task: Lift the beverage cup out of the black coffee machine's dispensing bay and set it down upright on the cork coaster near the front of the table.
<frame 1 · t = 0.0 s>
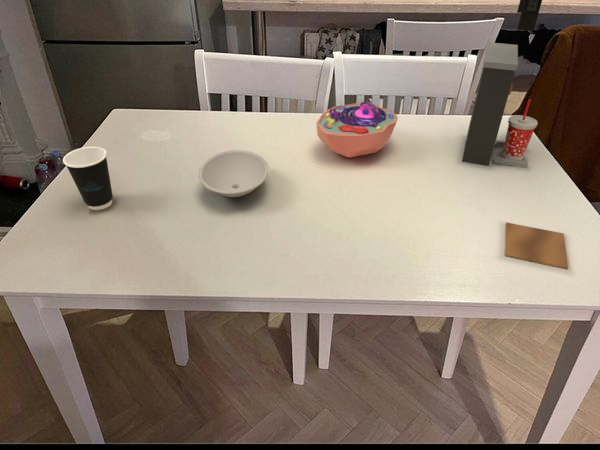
hand: (524, 21, 87), 31 cm above the table, tool pointing down, fingers open, 13 cm apart
dish: (236, 191, 99), on the table
cork coaster: (534, 245, 84), on the table
beverage cup: (512, 156, 110), on the table
cell model: (354, 151, 113), on the table
dixie cup: (100, 204, 95), on the table
coffee machine: (494, 153, 111), on the table
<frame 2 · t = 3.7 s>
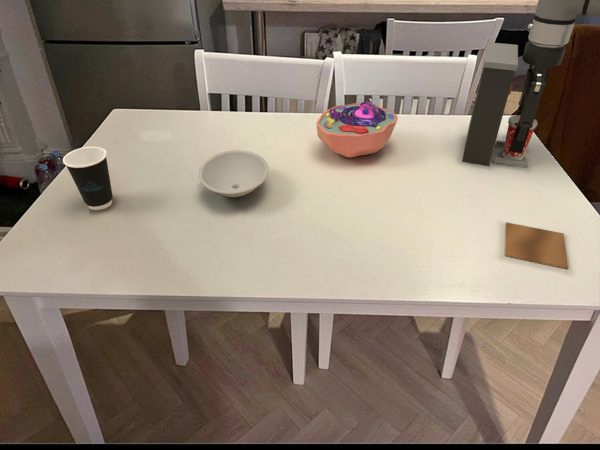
hand: (515, 144, 108), 3 cm above the table, tool pointing down, fingers closed on beverage cup, 6 cm apart
beverage cup: (512, 156, 110), on the table, touching gripper
everything else where it was.
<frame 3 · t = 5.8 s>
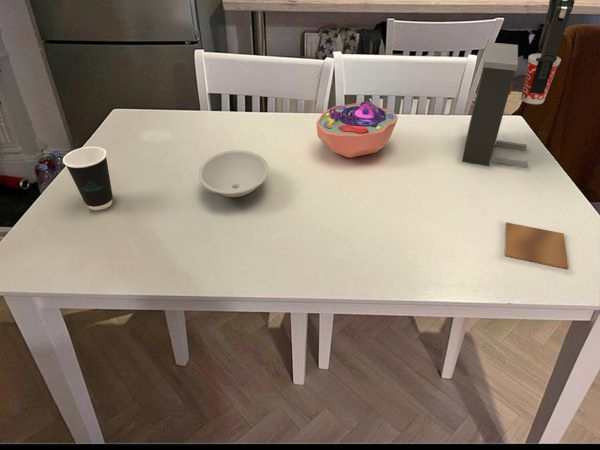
hand: (536, 86, 98), 17 cm above the table, tool pointing down, fingers closed on beverage cup, 6 cm apart
beverage cup: (531, 101, 100), point 14 cm above the table, touching gripper
everything else where it was.
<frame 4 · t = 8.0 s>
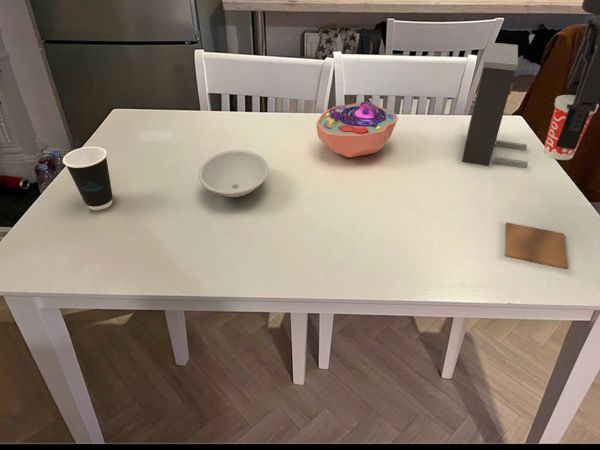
hand: (564, 137, 76), 19 cm above the table, tool pointing down, fingers closed on beverage cup, 6 cm apart
beverage cup: (557, 154, 78), point 16 cm above the table, touching gripper
everything else where it was.
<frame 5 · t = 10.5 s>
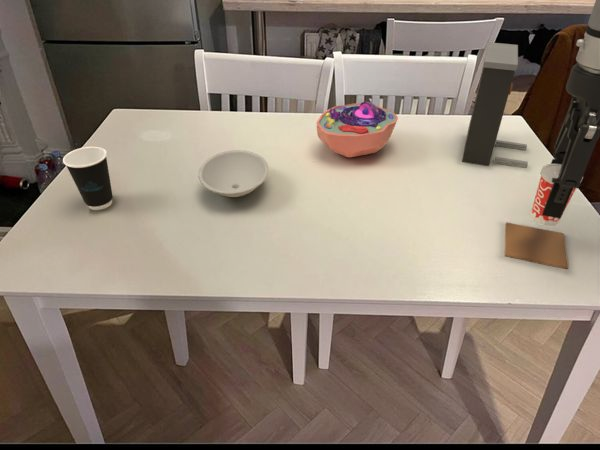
hand: (550, 204, 78), 9 cm above the table, tool pointing down, fingers closed on beverage cup, 6 cm apart
beverage cup: (544, 218, 80), point 6 cm above the table, touching gripper
everything else where it was.
when the fingers open (3 cm above the table, at t = 12.2 s): beverage cup stays where it is, resting on cork coaster.
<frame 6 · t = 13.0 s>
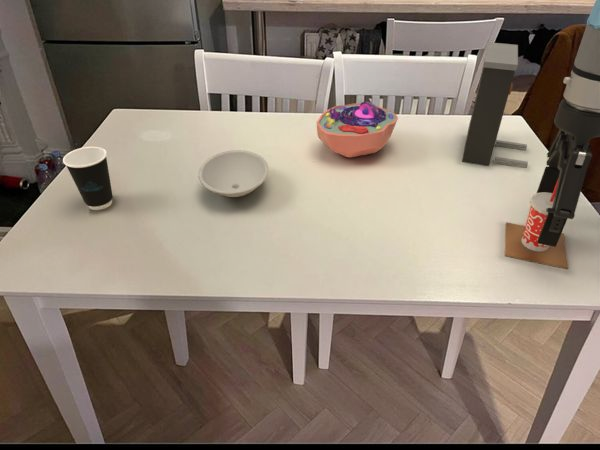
hand: (544, 220, 80), 6 cm above the table, tool pointing down, fingers open, 13 cm apart
beverage cup: (534, 244, 83), resting on cork coaster
everything else where it was.
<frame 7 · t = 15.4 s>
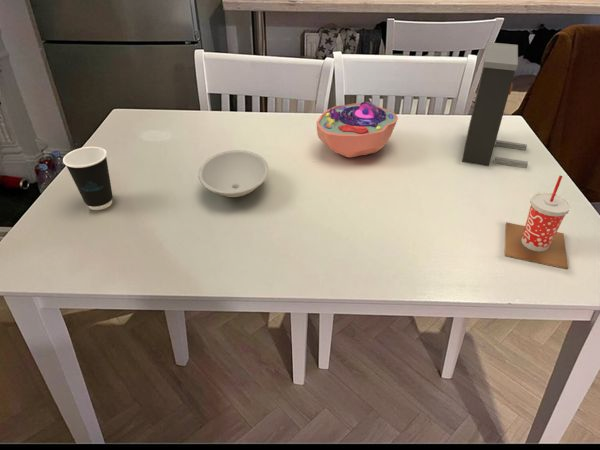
nothing on the table moved.
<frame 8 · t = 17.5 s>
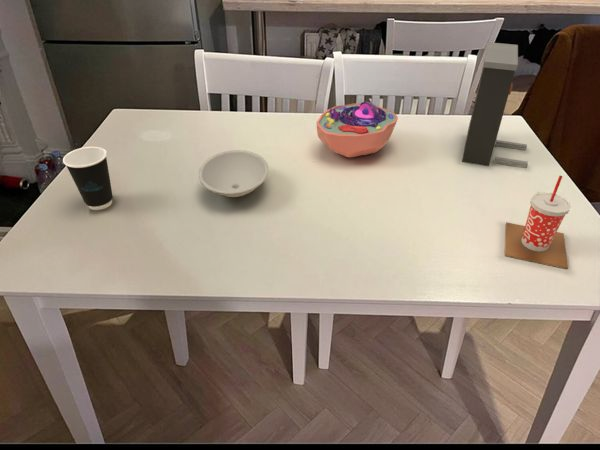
nothing on the table moved.
at the end: beverage cup inside the target area on the cork coaster (0.1 cm from its centre), point 0.2 cm above the cork coaster's base; beverage cup tilted 0°; beverage cup touching cork coaster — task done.
